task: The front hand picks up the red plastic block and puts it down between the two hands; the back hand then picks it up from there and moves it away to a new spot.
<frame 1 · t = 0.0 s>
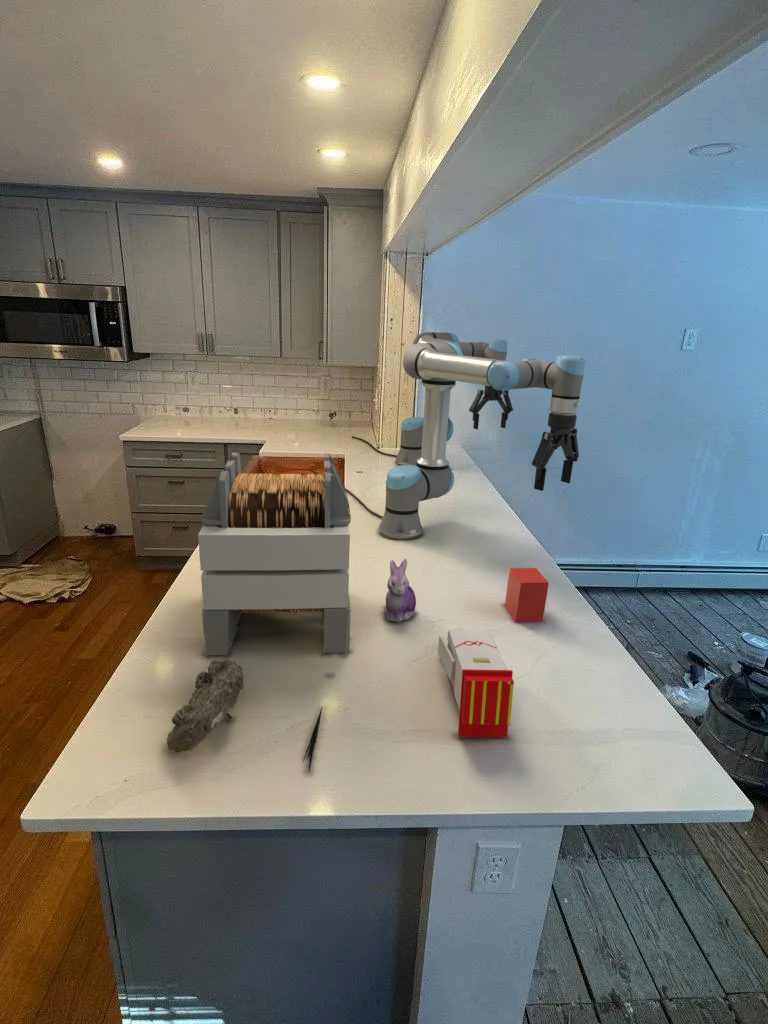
front hand: (552, 485, 166), 28 cm above the counter, tool pointing down, fingers open, 13 cm apart
back hand: (489, 428, 244), 28 cm above the counter, tool pointing down, fingers open, 13 cm apart
block: (523, 613, 151), on the counter
record crate stand: (282, 618, 143), on the counter
figurine: (399, 614, 147), on the counter
grey elongated lump: (212, 717, 108), on the counter
toy: (469, 691, 119), on the counter
feather: (319, 719, 109), on the counter
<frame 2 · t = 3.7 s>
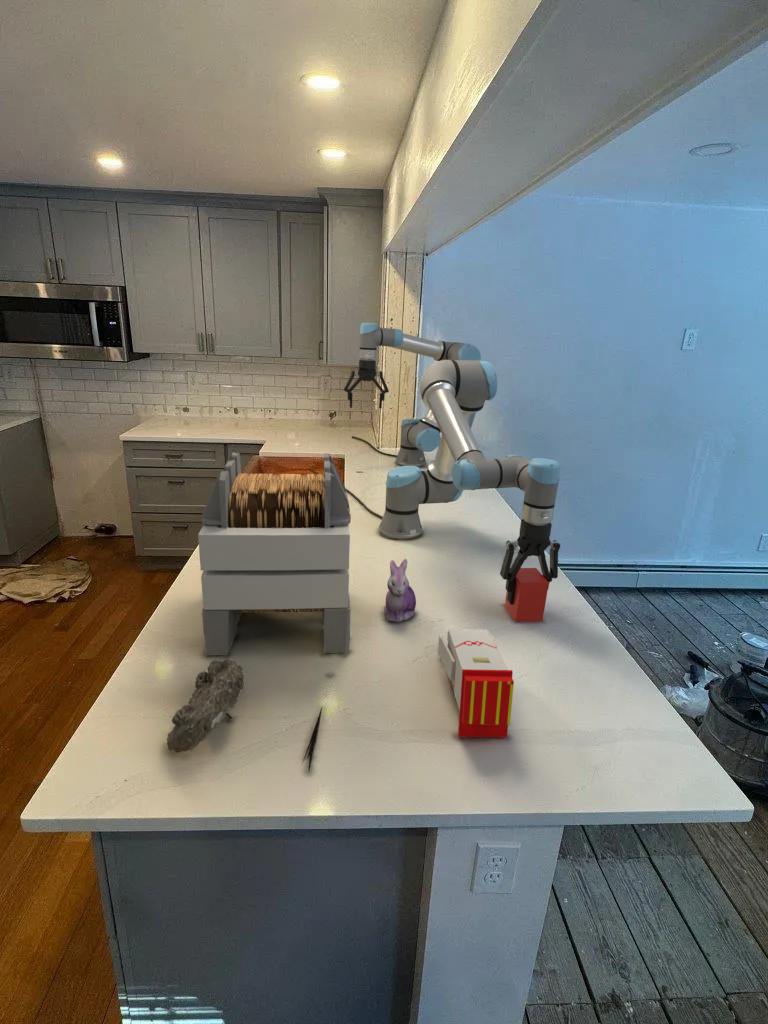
front hand: (524, 601, 149), 4 cm above the counter, tool pointing down, fingers closed on block, 7 cm apart
back hand: (365, 407, 258), 32 cm above the counter, tool pointing down, fingers open, 13 cm apart
block: (523, 613, 151), on the counter, touching front hand
everything else where it was.
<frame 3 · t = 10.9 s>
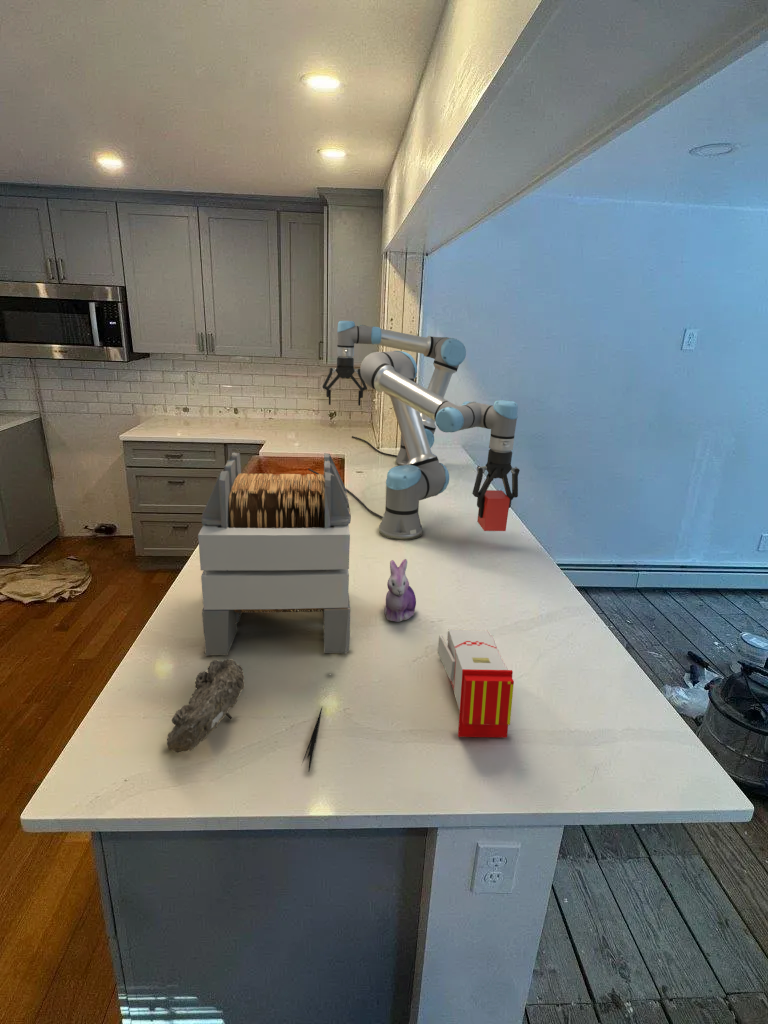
front hand: (492, 516, 189), 11 cm above the counter, tool pointing down, fingers closed on block, 7 cm apart
back hand: (344, 404, 261), 32 cm above the counter, tool pointing down, fingers open, 13 cm apart
block: (491, 526, 191), point 7 cm above the counter, touching front hand
everything else where it was.
when the front hand's fingers open (5 cm above the counter, at t = 18.3 s): block drops 2 cm, on the counter.
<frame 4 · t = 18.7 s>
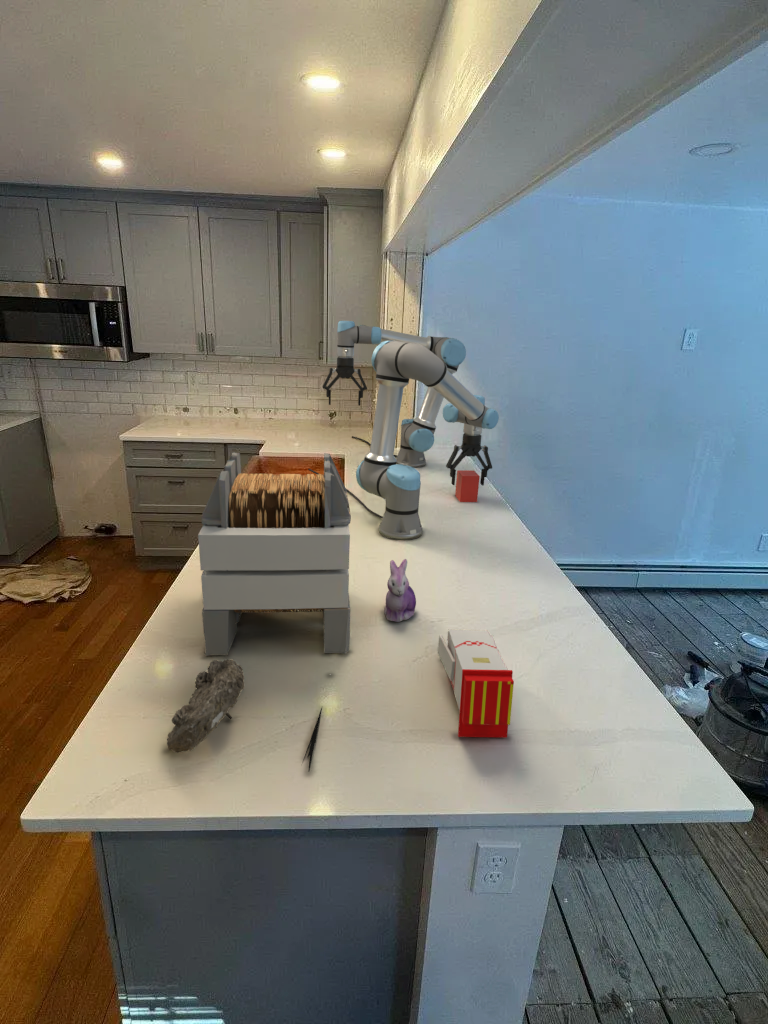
front hand: (467, 484, 239), 6 cm above the counter, tool pointing down, fingers open, 12 cm apart
back hand: (344, 404, 261), 32 cm above the counter, tool pointing down, fingers open, 13 cm apart
block: (465, 498, 241), on the counter
everything else where it was.
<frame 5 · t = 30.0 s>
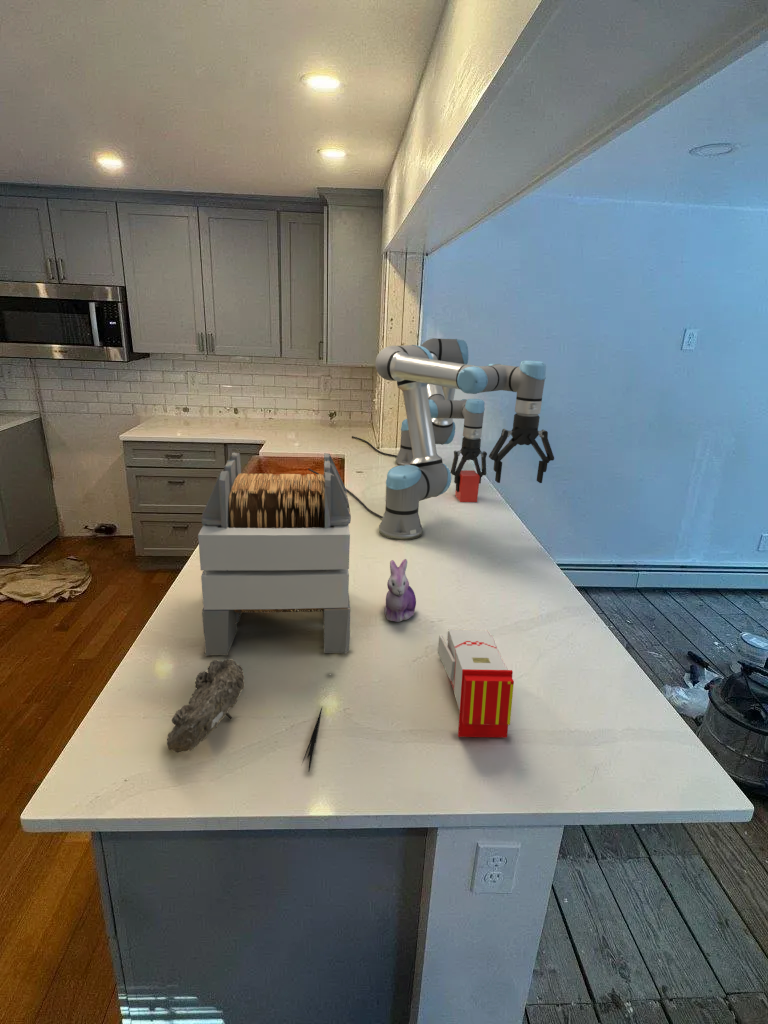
front hand: (518, 481, 178), 25 cm above the counter, tool pointing down, fingers open, 13 cm apart
back hand: (466, 490, 239), 4 cm above the counter, tool pointing down, fingers closed on block, 7 cm apart
block: (465, 498, 241), on the counter, touching back hand
everything else where it was.
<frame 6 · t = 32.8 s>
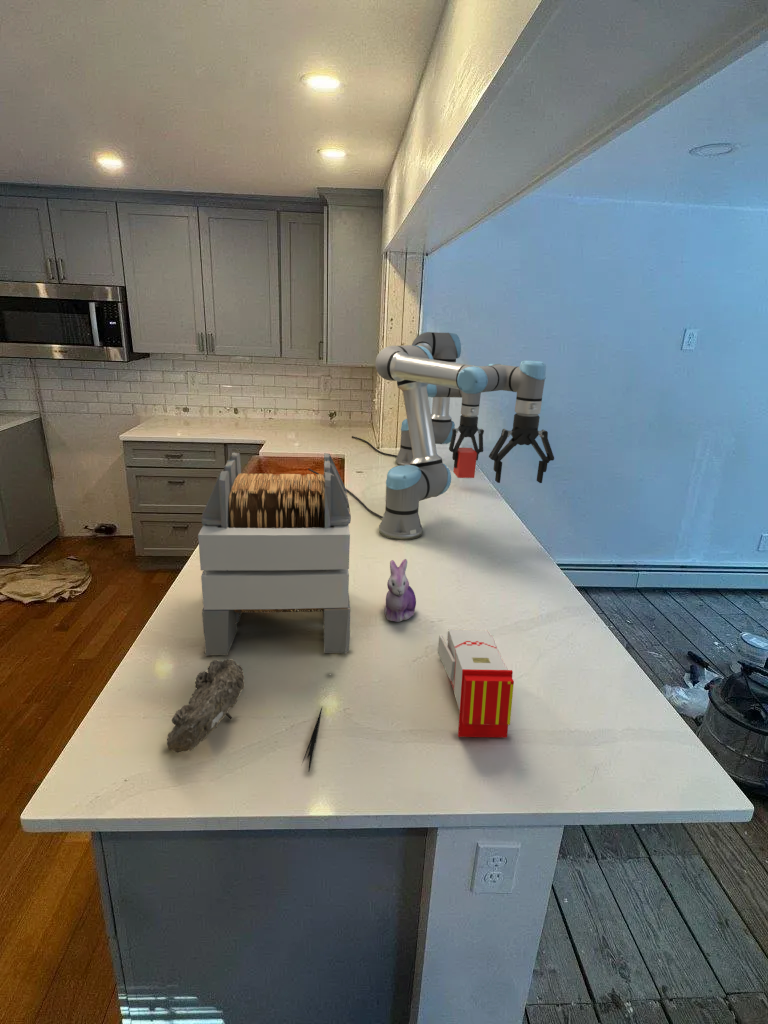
front hand: (518, 481, 178), 25 cm above the counter, tool pointing down, fingers open, 13 cm apart
back hand: (464, 467, 249), 10 cm above the counter, tool pointing down, fingers closed on block, 7 cm apart
block: (463, 475, 250), point 7 cm above the counter, touching back hand
everything else where it was.
when the back hand's fingers open (5 cm above the counter, at t = 35.9 s): block drops 1 cm, on the counter.
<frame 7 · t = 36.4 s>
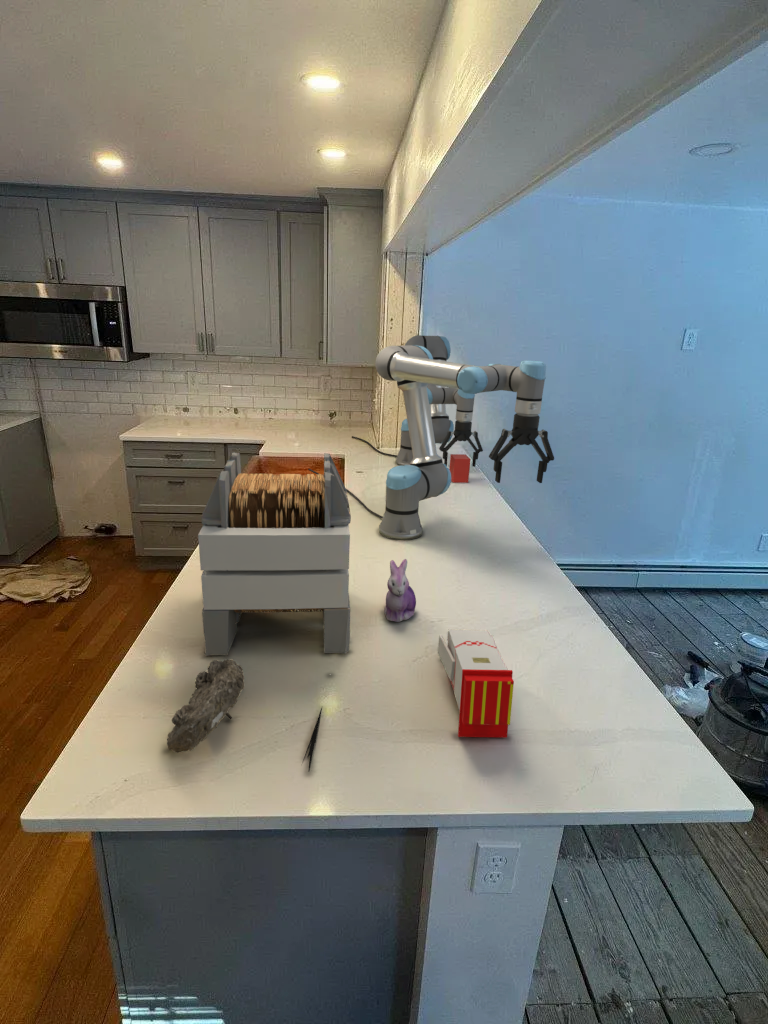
front hand: (518, 481, 178), 25 cm above the counter, tool pointing down, fingers open, 13 cm apart
back hand: (459, 466, 265), 7 cm above the counter, tool pointing down, fingers open, 13 cm apart
block: (458, 479, 267), on the counter
everything else where it was.
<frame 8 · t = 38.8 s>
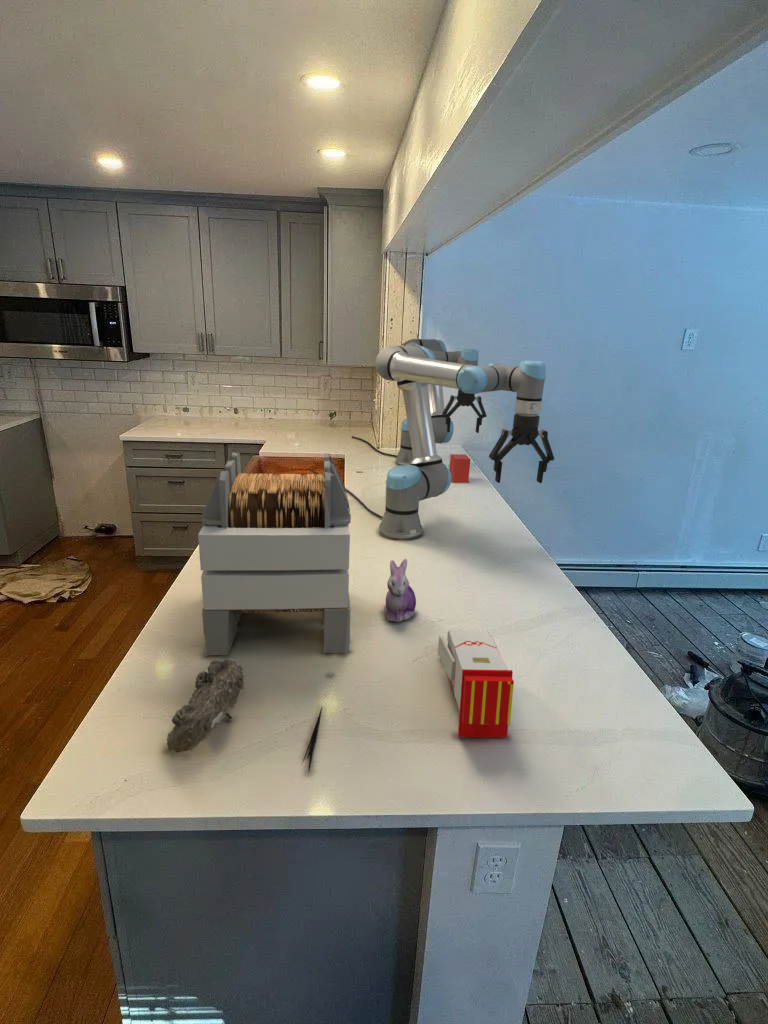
front hand: (518, 481, 178), 25 cm above the counter, tool pointing down, fingers open, 13 cm apart
back hand: (462, 432, 259), 23 cm above the counter, tool pointing down, fingers open, 13 cm apart
nothing on the counter moved.
at the end: block inside the target area (0.0 cm from its centre), on the counter; block tilted 0°; the two hands never held the block at the same time; the front hand is holding nothing; the back hand is holding nothing; block at rest at the end (0.0 cm/s) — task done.
